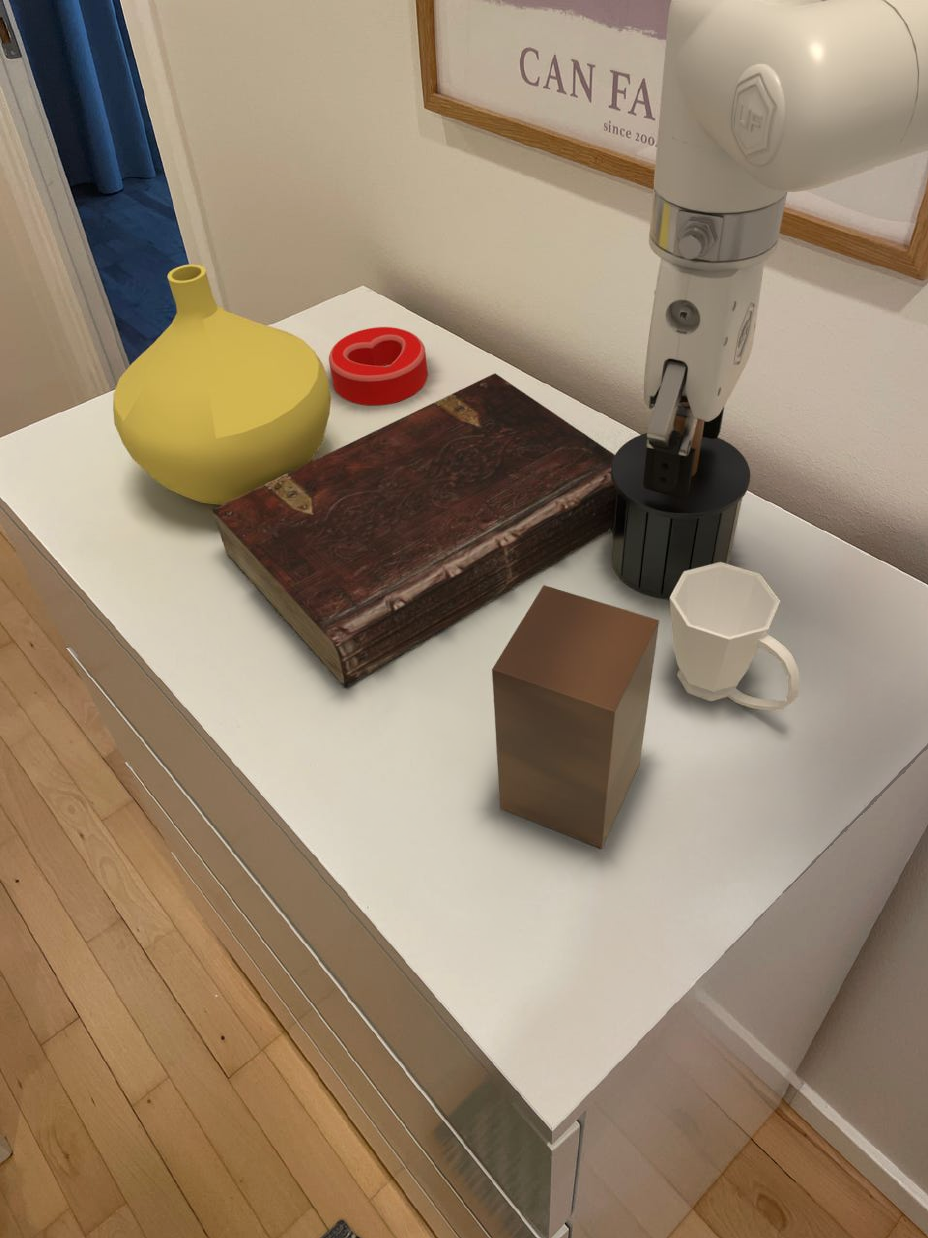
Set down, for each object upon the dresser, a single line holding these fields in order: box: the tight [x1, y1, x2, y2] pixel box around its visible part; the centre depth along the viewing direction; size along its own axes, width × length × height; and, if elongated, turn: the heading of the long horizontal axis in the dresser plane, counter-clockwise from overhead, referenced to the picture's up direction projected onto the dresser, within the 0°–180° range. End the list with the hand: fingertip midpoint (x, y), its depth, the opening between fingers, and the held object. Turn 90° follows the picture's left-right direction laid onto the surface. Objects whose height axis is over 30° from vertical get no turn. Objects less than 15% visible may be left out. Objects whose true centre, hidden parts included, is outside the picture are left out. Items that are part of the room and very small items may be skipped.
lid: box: [611, 402, 751, 519], centre depth 67 cm, size 10×10×6 cm
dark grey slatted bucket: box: [610, 488, 743, 600], centre depth 72 cm, size 9×9×8 cm
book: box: [211, 372, 616, 688], centre depth 77 cm, size 29×19×5 cm, turn 127°
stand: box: [491, 584, 660, 849], centre depth 57 cm, size 7×7×14 cm
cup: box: [669, 562, 800, 712], centre depth 63 cm, size 7×10×8 cm
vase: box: [112, 263, 332, 506], centre depth 80 cm, size 18×18×19 cm
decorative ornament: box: [328, 326, 429, 406], centre depth 95 cm, size 10×10×3 cm
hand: (682, 459), depth 68 cm, fingers open, 6 cm apart
